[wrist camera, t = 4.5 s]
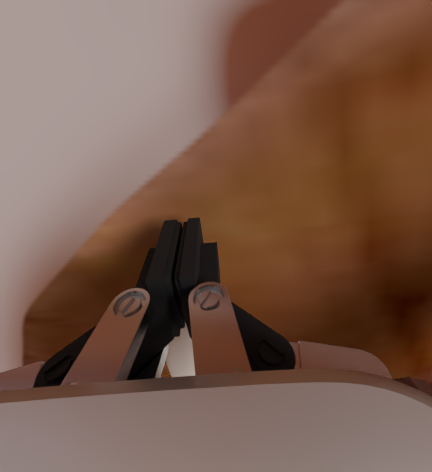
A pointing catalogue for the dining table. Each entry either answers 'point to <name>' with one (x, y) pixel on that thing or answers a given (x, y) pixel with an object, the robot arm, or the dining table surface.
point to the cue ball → (181, 355)
